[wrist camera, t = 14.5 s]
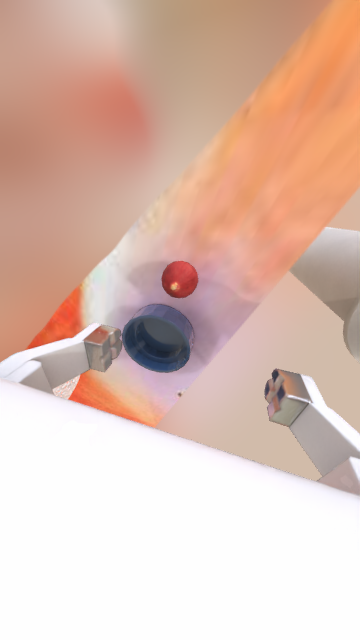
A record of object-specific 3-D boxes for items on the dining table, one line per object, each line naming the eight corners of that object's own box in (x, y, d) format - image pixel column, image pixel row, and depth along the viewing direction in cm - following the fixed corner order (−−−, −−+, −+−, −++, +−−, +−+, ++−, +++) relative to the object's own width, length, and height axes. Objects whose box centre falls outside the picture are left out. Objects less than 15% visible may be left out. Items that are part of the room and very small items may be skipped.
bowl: (199, 311, 35) (195, 325, 31) (189, 363, 43) (185, 379, 39) (132, 297, 37) (120, 308, 33) (133, 349, 45) (123, 363, 40)
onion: (187, 294, 34) (178, 314, 27) (162, 276, 33) (146, 291, 26) (207, 270, 31) (201, 286, 24) (180, 249, 30) (167, 259, 23)
